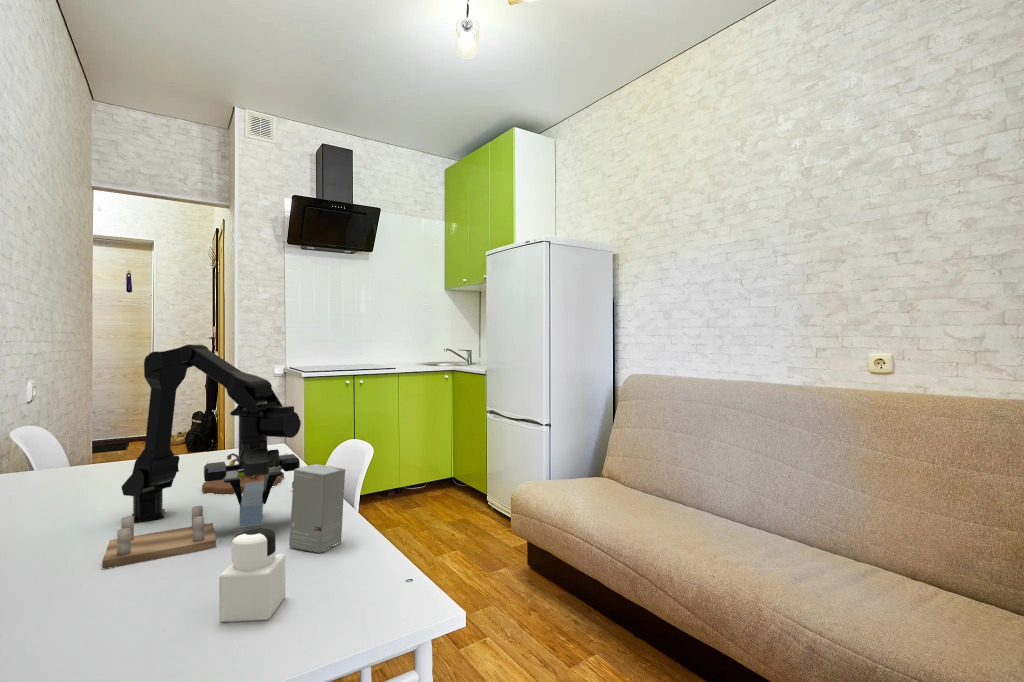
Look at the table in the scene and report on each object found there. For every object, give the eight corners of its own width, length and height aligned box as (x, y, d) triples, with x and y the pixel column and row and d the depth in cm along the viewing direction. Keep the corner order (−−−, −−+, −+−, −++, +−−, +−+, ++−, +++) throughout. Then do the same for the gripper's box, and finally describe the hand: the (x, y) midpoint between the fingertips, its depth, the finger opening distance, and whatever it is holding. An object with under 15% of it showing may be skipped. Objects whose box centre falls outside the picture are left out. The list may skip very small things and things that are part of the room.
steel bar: (245, 499, 121) (245, 483, 121) (263, 497, 123) (264, 481, 123) (239, 527, 103) (239, 507, 103) (261, 524, 105) (261, 504, 105)
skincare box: (288, 548, 102) (288, 469, 102) (314, 536, 109) (314, 462, 109) (321, 554, 99) (321, 473, 99) (346, 541, 105) (346, 465, 106)
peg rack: (109, 547, 103) (110, 517, 103) (212, 529, 112) (212, 502, 112) (102, 569, 93) (102, 536, 93) (216, 547, 102) (216, 517, 102)
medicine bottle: (240, 599, 82) (240, 524, 82) (286, 597, 82) (286, 523, 82) (218, 623, 75) (218, 541, 75) (268, 620, 75) (268, 539, 75)
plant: (260, 496, 139) (261, 455, 139) (189, 496, 139) (189, 455, 139) (293, 477, 159) (293, 441, 159) (230, 477, 159) (230, 441, 159)
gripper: (206, 446, 102) (205, 524, 101) (304, 437, 112) (304, 507, 112) (203, 437, 111) (203, 509, 111) (295, 429, 121) (294, 495, 121)
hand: (252, 505), depth 113 cm, fingers closed on steel bar, 4 cm apart
